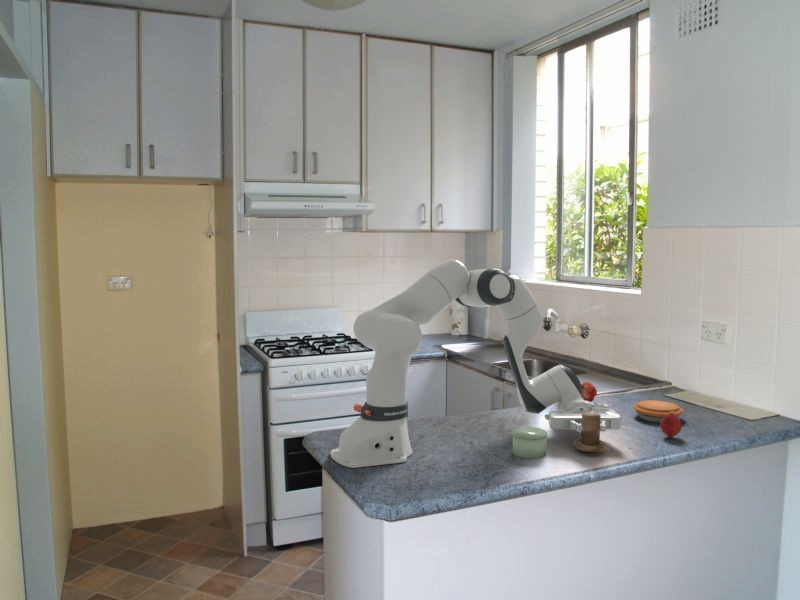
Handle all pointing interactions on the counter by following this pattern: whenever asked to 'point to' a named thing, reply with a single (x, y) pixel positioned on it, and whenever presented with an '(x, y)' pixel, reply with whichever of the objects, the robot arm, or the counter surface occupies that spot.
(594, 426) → the lid
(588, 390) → the pomegranate
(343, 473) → the counter surface
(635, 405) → the pie
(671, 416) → the onion
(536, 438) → the canister
